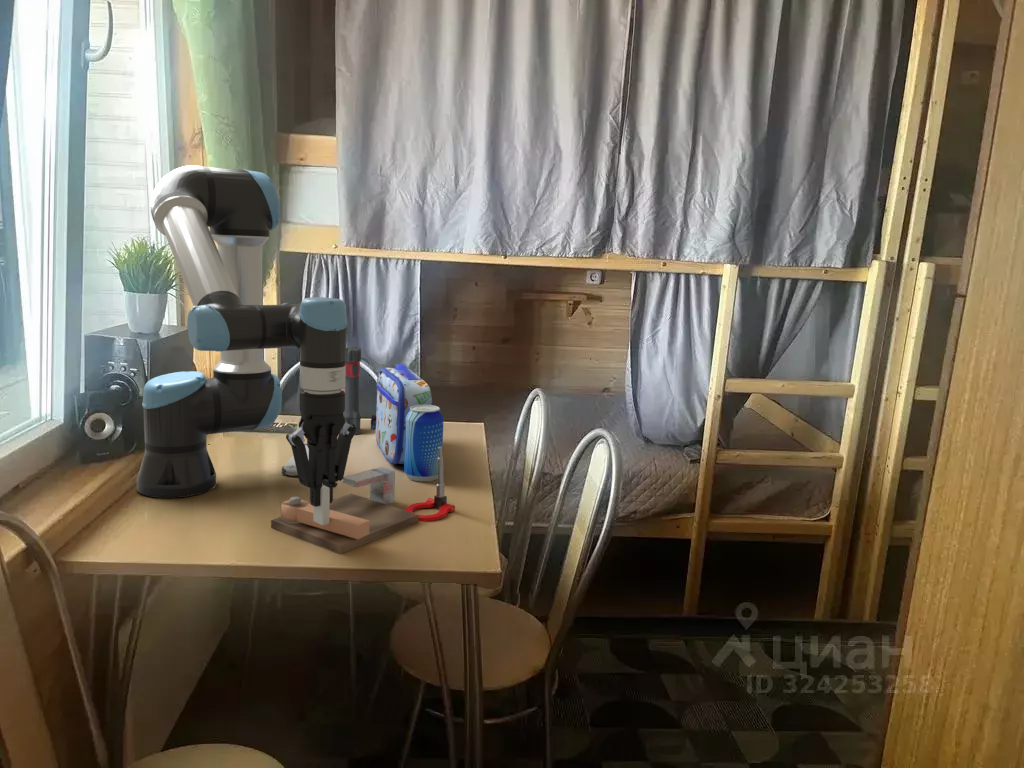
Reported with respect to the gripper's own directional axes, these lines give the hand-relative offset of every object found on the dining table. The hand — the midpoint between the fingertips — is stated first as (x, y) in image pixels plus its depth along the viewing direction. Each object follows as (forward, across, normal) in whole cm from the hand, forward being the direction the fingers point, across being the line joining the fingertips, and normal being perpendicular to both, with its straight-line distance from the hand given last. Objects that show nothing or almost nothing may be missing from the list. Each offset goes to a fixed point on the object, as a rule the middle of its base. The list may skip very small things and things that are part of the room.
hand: (321, 522), depth 138 cm
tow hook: (+4, +24, -1) cm, 24 cm away
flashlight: (+4, +49, +60) cm, 78 cm away
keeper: (+4, +18, +10) cm, 21 cm away
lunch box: (+4, +46, +34) cm, 57 cm away
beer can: (+4, +38, +17) cm, 42 cm away
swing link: (+2, +2, +2) cm, 3 cm away
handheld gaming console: (+4, +26, +41) cm, 49 cm away
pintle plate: (+4, +8, +4) cm, 10 cm away
